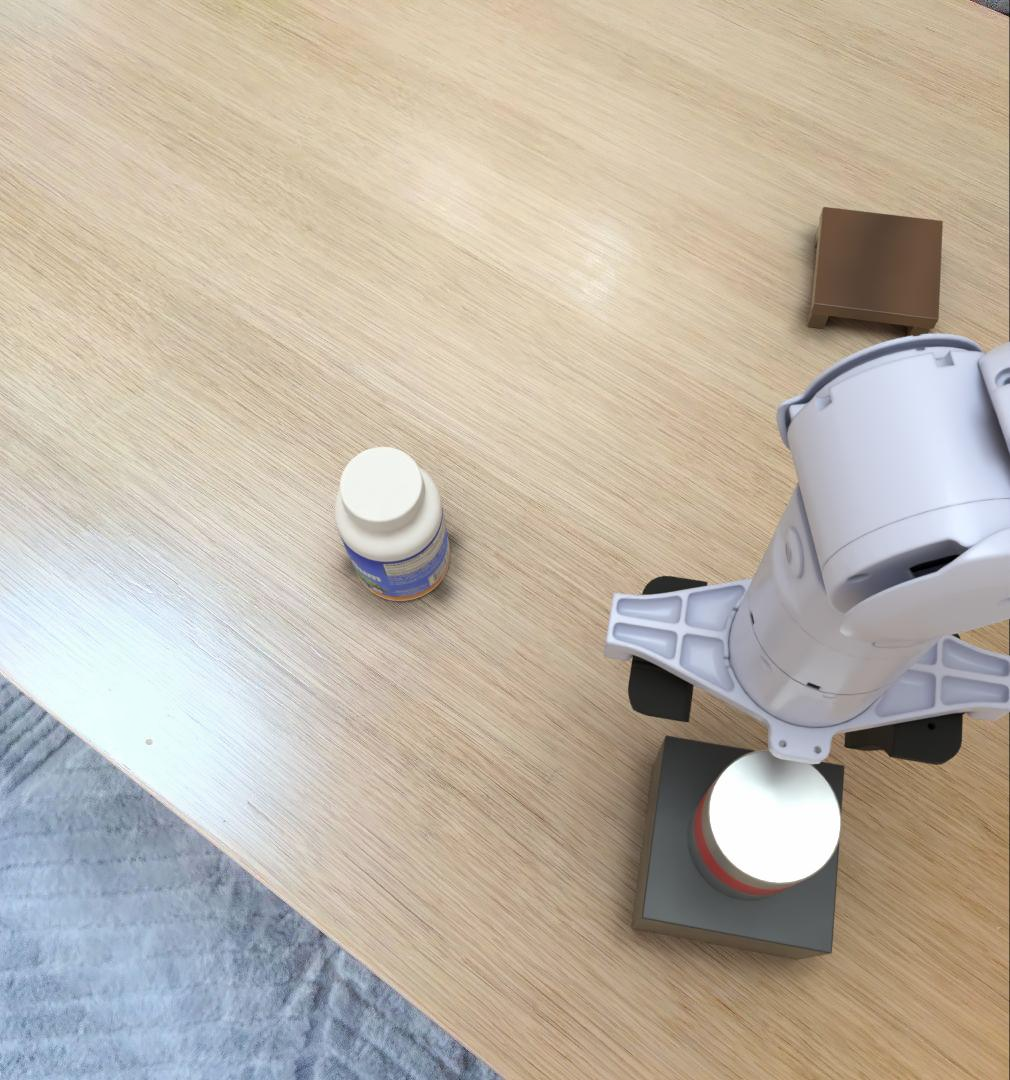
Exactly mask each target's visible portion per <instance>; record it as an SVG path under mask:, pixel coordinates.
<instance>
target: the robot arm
mask: <svg viewBox="0 0 1010 1080" xmlns="http://www.w3.org/2000/svg"><path fill="white" fill-rule="evenodd" d="M775 419H776V424H777V429H778V433H779V436H780V439H781V442H782V443H783V444H784V446H785V448H787V450H788V451H790V455H791V459H792V462H793V466H794V470H795V474H796V478H797V483H796V484H795V487H794V489H793V491H792V494H791V496H790V497H789V500H788V502H787V505H786V506H785V509H784V511H783V513H782V514H781V516H780V519H779V521H778V523H777V525H776V528H775V530H774V532H773V534H772V536H771V538H770V541H769V543H768V545H767V547H766V549H765V551H764V554H763V555H762V558H761V560H760V562H759V564H758V566H757V568H756V570H755V573H754V575H753V577H749V578H743V579H738V580H733V581H727V582H721V583H715V584H710V585H708V581H705V580H698V579H693V578H686V577H679V576H673V575H661V576H657V577H655V578H653V579H650V581H649V582H648V583H646V585H645V586H644V588H643V590H642V593H641V594H633V593H621V592H613V594H612V599H611V603H610V604H611V605H610V611H609V618H608V622H607V628H606V629H607V630H606V637H605V643H604V649H603V657H604V658H606V659H612V660H618V661H625V662H626V661H627V662H628V661H630V660H631V665H630V671H629V677H628V683H627V684H628V685H627V696H628V701H629V704H630V707H631V708H632V710H633V711H634V712H636V713H638V714H641V715H643V716H646V717H651V718H658V719H662V720H663V719H664V720H669V721H670V720H671V721H676V722H679V723H680V722H681V723H690V718H691V717H690V716H691V711H692V701H693V696H694V695H693V693H694V687H696V688H698V689H700V690H702V691H704V692H706V693H707V694H709V695H711V696H713V697H715V698H717V699H718V700H720V701H722V702H724V703H726V704H728V705H730V706H731V707H733V708H735V709H737V710H738V711H740V712H743V713H744V714H746V715H748V716H749V717H752V718H754V719H755V720H758V721H759V722H761V723H762V724H763V725H764V726H765V728H766V730H767V743H766V744H767V750H769V751H770V752H771V754H772V755H773V756H775V757H777V758H779V759H784V760H790V761H795V762H801V763H807V764H819V763H820V762H824V761H825V760H826V759H827V758H828V757H829V755H830V753H831V749H832V741H833V737H834V736H836V735H839V734H844V741H843V742H844V744H843V747H844V748H846V749H851V750H857V751H863V752H874V751H876V752H877V751H884V752H885V753H886V755H888V757H889V758H891V759H892V758H893V759H896V760H897V759H898V760H904V761H910V762H916V763H922V764H928V765H936V766H938V765H943V764H946V763H947V762H949V761H951V760H952V759H954V758H955V756H957V755H958V753H959V751H960V750H961V747H962V742H963V725H964V724H963V722H964V721H963V719H964V715H965V714H966V715H967V716H968V717H969V718H972V719H974V720H979V721H986V722H992V723H994V722H997V721H998V720H1000V719H1001V718H1003V717H1004V716H1006V715H1007V714H1009V713H1010V655H1009V654H1005V653H1000V652H996V651H991V650H988V649H986V648H982V647H979V646H977V645H974V644H972V643H970V642H967V641H965V640H963V639H961V635H959V634H962V633H966V632H970V631H974V630H978V629H981V628H984V627H988V626H993V625H996V624H999V623H1001V622H1005V621H1007V620H1010V341H1006V342H1005V343H1001V344H998V345H996V346H994V347H993V348H991V349H989V350H988V351H987V352H985V351H984V350H983V347H981V346H980V344H979V343H977V342H976V341H974V340H973V339H971V338H969V337H966V336H962V335H959V334H954V333H953V334H952V333H942V332H941V333H939V332H937V333H928V334H920V335H919V336H913V335H912V336H907V335H906V336H902V337H897V338H894V339H890V340H889V339H888V340H886V341H882V342H879V343H877V344H874V345H871V346H867V347H865V348H863V349H860V350H858V351H856V352H854V353H851V354H849V355H847V356H845V357H843V358H842V359H839V360H838V361H836V362H835V363H833V364H831V365H830V366H828V367H827V368H825V369H824V370H823V371H821V372H820V373H819V374H818V375H817V376H816V377H814V378H813V379H812V380H811V381H810V382H809V384H808V385H807V386H806V387H805V389H804V390H803V391H802V392H801V393H800V394H798V395H796V396H793V397H791V398H788V399H785V400H783V401H782V402H780V403H779V404H778V406H777V409H776V416H775Z"/></svg>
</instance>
